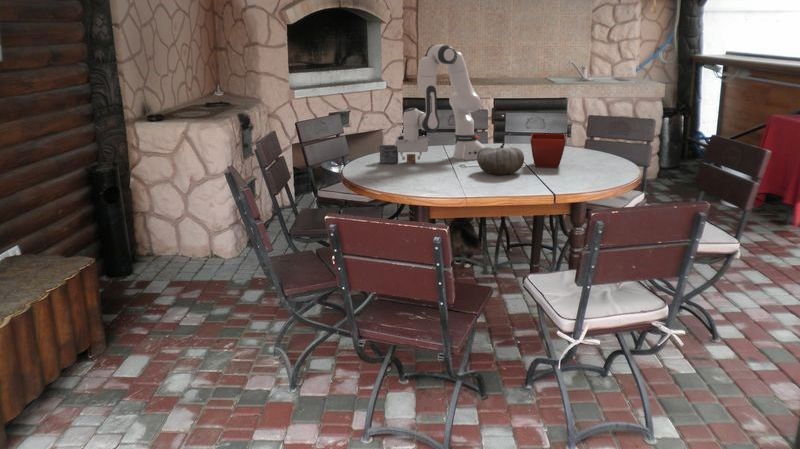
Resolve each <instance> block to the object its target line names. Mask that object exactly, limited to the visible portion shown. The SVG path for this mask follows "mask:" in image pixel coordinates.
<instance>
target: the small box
mask: <svg viewBox="0 0 800 449" xmlns="http://www.w3.org/2000/svg"><path fill="white" fill-rule="evenodd" d="M398 163H399V152H397V146H394V144H381V145H379V164H380V165H381V164H382V165H383V164H384V165H387V164H388V165H393V164H394V165H395V164H398Z"/></svg>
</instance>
